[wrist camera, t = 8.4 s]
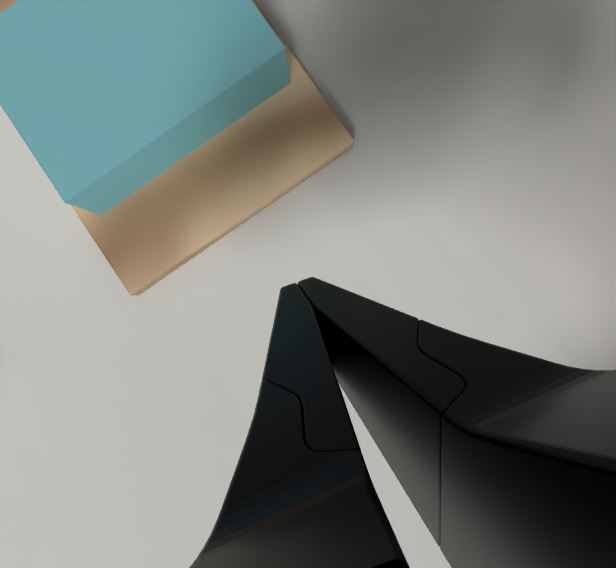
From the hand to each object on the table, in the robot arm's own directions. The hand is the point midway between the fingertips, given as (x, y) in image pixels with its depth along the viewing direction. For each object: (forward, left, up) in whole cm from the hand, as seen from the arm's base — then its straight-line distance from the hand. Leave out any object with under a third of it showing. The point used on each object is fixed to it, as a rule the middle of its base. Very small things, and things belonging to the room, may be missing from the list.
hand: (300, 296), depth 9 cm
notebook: (+7, +7, -8) cm, 12 cm away
